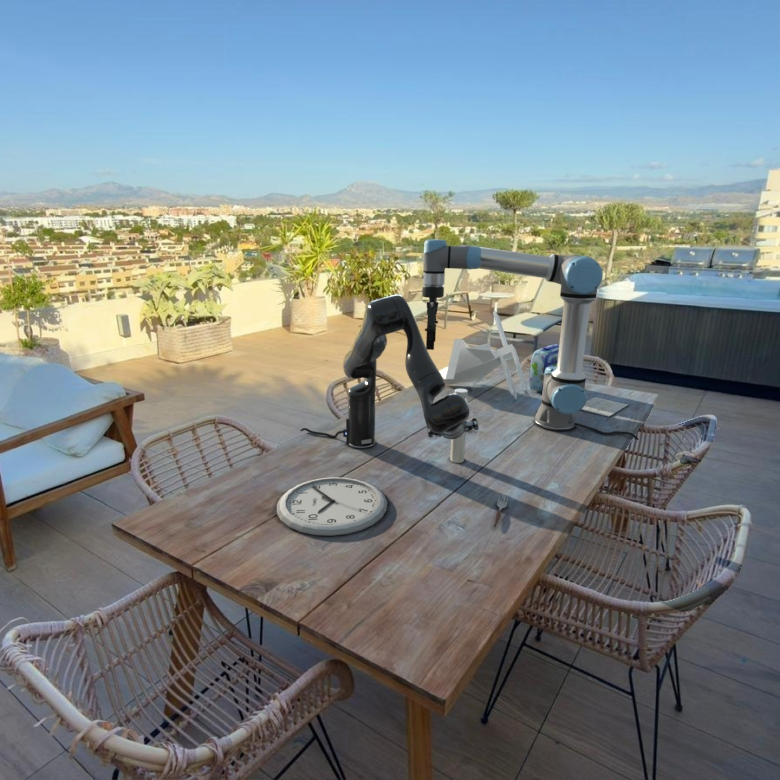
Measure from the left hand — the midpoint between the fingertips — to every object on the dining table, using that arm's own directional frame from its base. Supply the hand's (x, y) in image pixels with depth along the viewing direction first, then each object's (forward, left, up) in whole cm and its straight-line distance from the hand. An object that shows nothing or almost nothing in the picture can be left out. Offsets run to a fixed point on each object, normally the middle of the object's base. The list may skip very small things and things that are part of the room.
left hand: (454, 431), depth 153 cm
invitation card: (+43, +92, -16) cm, 103 cm away
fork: (+17, -14, -16) cm, 27 cm away
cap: (-2, +15, +8) cm, 17 cm away
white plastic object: (-10, +92, -16) cm, 94 cm away
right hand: (-19, +38, +16) cm, 45 cm away
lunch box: (+20, +111, -16) cm, 113 cm away
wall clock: (-26, -27, -16) cm, 41 cm away
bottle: (-2, +15, -16) cm, 22 cm away
